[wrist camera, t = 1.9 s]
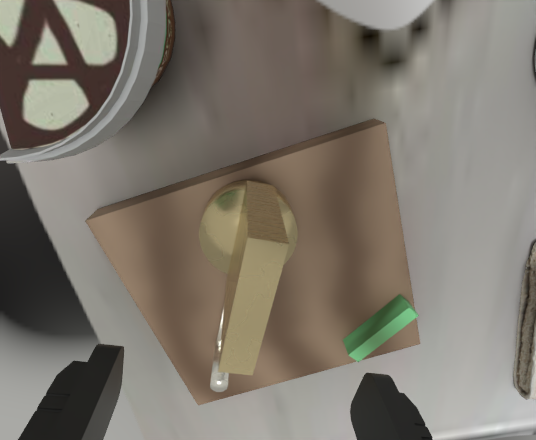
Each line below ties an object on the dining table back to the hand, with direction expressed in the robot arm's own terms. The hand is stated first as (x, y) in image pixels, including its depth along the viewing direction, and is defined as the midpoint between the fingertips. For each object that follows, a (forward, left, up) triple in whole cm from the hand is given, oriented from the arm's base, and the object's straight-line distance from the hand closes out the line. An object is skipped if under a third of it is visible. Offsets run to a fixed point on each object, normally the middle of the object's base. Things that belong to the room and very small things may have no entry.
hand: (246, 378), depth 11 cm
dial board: (0, +6, -15) cm, 16 cm away
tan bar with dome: (+2, +3, -12) cm, 13 cm away
